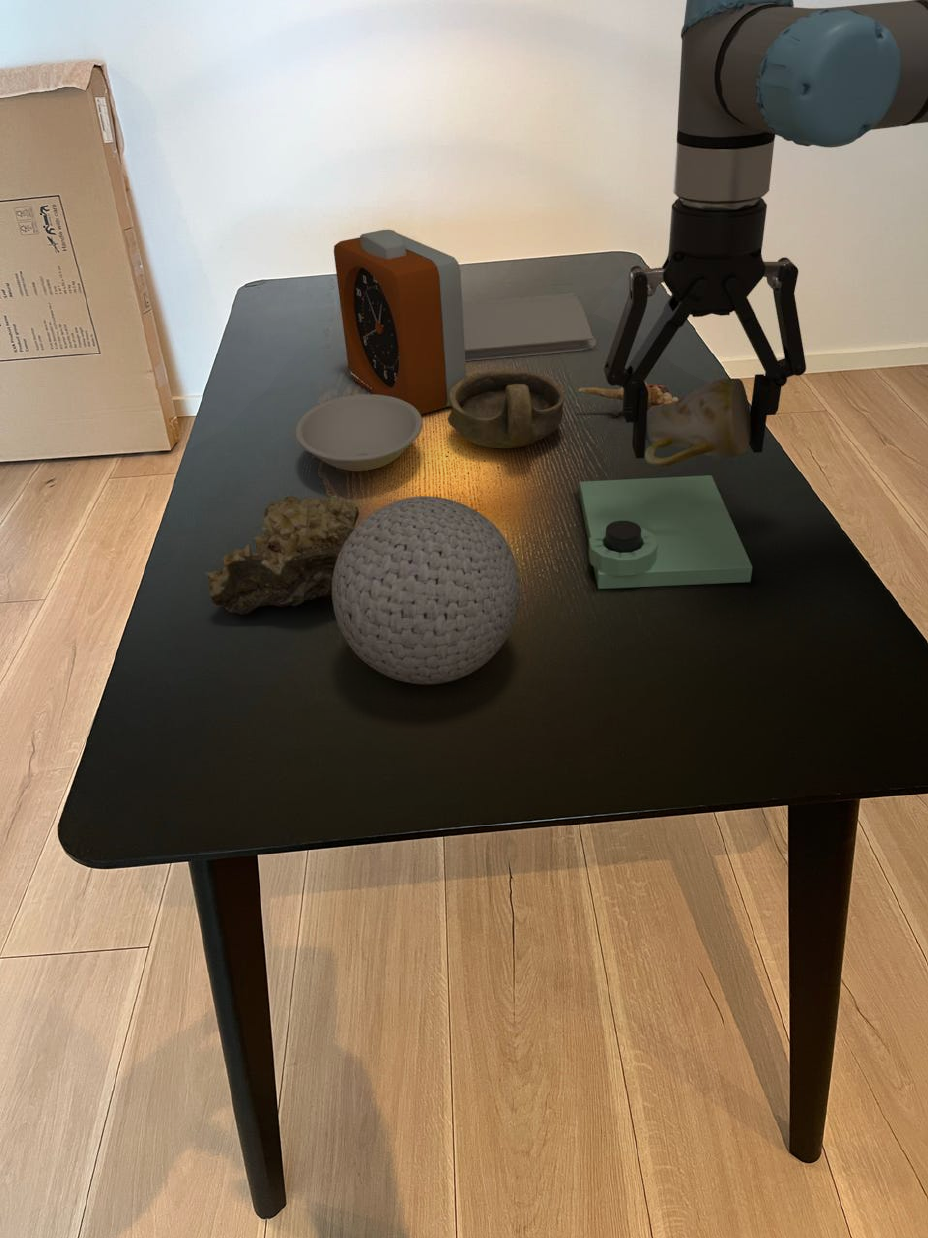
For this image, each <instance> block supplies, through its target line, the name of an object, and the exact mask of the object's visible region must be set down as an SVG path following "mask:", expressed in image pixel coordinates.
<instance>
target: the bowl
mask: <svg viewBox="0 0 928 1238" xmlns="http://www.w3.org/2000/svg"><path fill="white" fill-rule="evenodd" d="M449 400H450V403H451V405H452V406H451V410H450V413H449V415H448V418H447V421H448V424H449V425H450V426H451V427H452V428H453V429H454V430H455V431H456V433H457V434H458V435H460V437H462V438H463V439H465V440H467V441H469V442H471V443H472V444H476V445H478V446H481V447H485V448H492V449H494V448H495V449H515V448H521V447H526V446H530V445H533V444H535V443H537V442H538V441H540V440H543V439H544V438H546V437H548V436H549V435H551V434H552V433H553V432H554V431H555V430H556V429H557V428H559V426H560V424H561V422H562V419H563V417H564V416H563V414H564V409H563V406H564V403H565V392H564V391H563V388H562V387H561V386H560V385H559V384H558V383H557V382H556V381H555V380H553V379H551V378H549V377H546V376H545V375H541V374H538V373H535V372H532V371H525V370H516V369H515V370H514V369H513V370H512V369H511V370H510V369H507V370H506V369H502V370H486V371H481V372H475V373H473V374H470V375H466V378H464V379H463V380H461V381H460V382H458V383H457V384H456V385H455V386H454V387H452V388H451V390H450V392H449Z"/></svg>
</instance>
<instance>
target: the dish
mask: <svg viewBox="0 0 928 1238" xmlns="http://www.w3.org/2000/svg"><path fill="white" fill-rule="evenodd" d="M423 422H424V421H423V418H422V414H421V415H420V413H419V412H418V410H417V409H416V408H415V407H413V406H412V405H411V404H409V403H407V402H405V401H403V400H401V399H398V398H394V397H390V396H385V395H377V394H374V393H361V394H360V393H359V394H352V395H351V394H350V395H344V396H340V397H336V398H335V397H334V398H332V399H329V400H326V401H324V402H322V403H319V404H317V405H315V406H314V407H312V408H310V409H309V410H307V411H306V412H305V413H304V414H303V415H302V416H301V417H300V419H299V420H298V422H297V424H296V426H295V438H296V440H297V443H298V444H299V445H300V447H302V448H303V449H304V450H305V451H307V452H308V453H310V454H312V455H314V456H315V457H316V458H318V459H319V460H320V461H322V462H324V463H325V464H327V465H329V466H332V467H334V468H337V469H339V470H343V471H349V472H366V471H371V470H375V469H379V468H381V467H384V466H387V465H388V464H390V463H392V462H393V461H395V460H396V459H398V458H399V457H400V456H401V455H402V454H404V452H405V451H406V450H407V449H408V448H409V446H410V445H412V444H413V443H414V442H415V441H416V440H417V439H418V437H419V436H420V434H421V433H422V429H423Z"/></svg>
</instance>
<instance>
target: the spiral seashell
mask: <svg viewBox="0 0 928 1238" xmlns="http://www.w3.org/2000/svg"><path fill="white" fill-rule="evenodd" d="M644 382H645V385H646V387H647V390H648V406H647V411H648V410H649V409H650V408H651V407H652V406H657V405H662V404H668V403H672V402H675V401H678V400H679V398H678V397H677V396H673V397H672V394H671V392H670V390H669V388H667V387H666V386H665V384H656V383H648V382H647V380H646V379H645V380H644ZM623 391H624V388H623V387H621V388H618V389H614V388H612V389H611V388H601V387H597V386H596V387H595V386H594V387H580V388H578V391H577V392H578V393H581V394H582V393H583V394H588V395H596V396H599V397H603V398H608V399H612V400H613V399H614V400H620V401H623ZM612 415H613V417H614V418H615V417H618V416H619V412H618V410H614V411H612Z"/></svg>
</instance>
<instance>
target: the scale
mask: <svg viewBox="0 0 928 1238" xmlns="http://www.w3.org/2000/svg"><path fill="white" fill-rule="evenodd" d="M578 497H579V502H580V507H581V512H582V516H583V522H584V527H585V531H586V536H587V541H588V560H589V563H590V565H591V566H592V567H593V571H594V576H595V581H596V586H597V590H605V589H606V590H610V589H628V588H629V589H630V588H631V589H632V588H651V587H653V588H654V587H671V586H673V587H674V586H695V585H696V586H697V585H715V584H716V585H718V584H738V583H740V584H741V583H751V582H752V581H751V580H752V574H753V565H752V563H751V560H750V559H749V556H748V554H747V551H746V549H745V547H744V545H743V542H742V540H741V538H740V535H739V533H738V532H737V529H736V527H735V525H734V522H733V520H732V518H731V516H730V513H729V511H728V509H727V507H726V505H725V502H724V500H723V498H722V495H721V493H720V491H719V489H718V486H717V484H716V482H715V479H714V477H713V476H712V475H711V474H710V475H709V474H708V475H690V476H689V475H688V476H686V475H685V476H669V477H668V476H666V477H665V476H664V477H650V478H649V477H648V478H630V479H629V478H627V479H625V478H624V479H607V480H605V479H604V480H587V481H579V482H578ZM615 521H631V522H634V523H636V524H638V525H639V526H640V527H641V544H640V548H639V550H636V551H634V552H629V553H619V552H615V551H610V550H608V549H607V548H606V546H605V540H606V527H607V526H608V525H609V524H610V523H612V522H615Z"/></svg>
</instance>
